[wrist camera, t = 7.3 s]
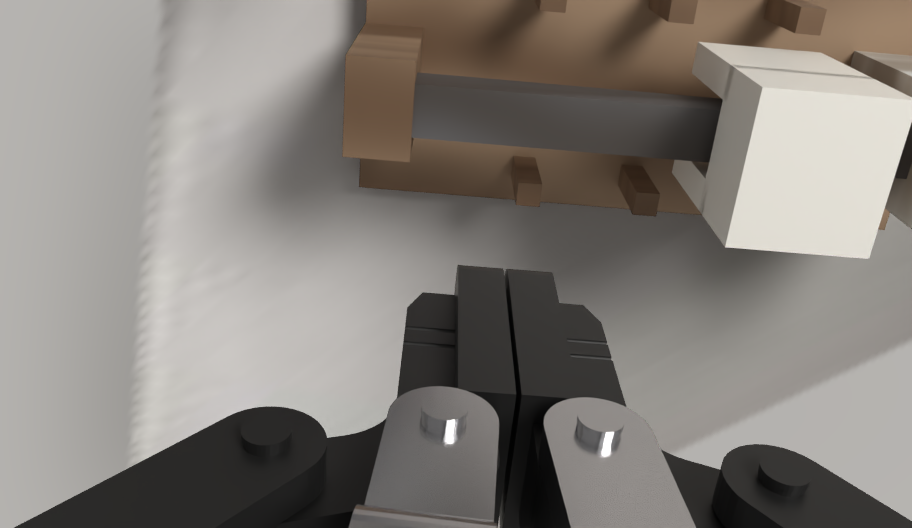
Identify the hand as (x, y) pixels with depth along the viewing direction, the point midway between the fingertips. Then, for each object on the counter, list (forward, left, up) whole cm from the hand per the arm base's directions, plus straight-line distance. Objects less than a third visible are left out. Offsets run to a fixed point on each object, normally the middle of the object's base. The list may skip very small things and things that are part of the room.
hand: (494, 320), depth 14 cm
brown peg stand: (0, +6, -19) cm, 20 cm away
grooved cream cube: (0, +9, -16) cm, 18 cm away
